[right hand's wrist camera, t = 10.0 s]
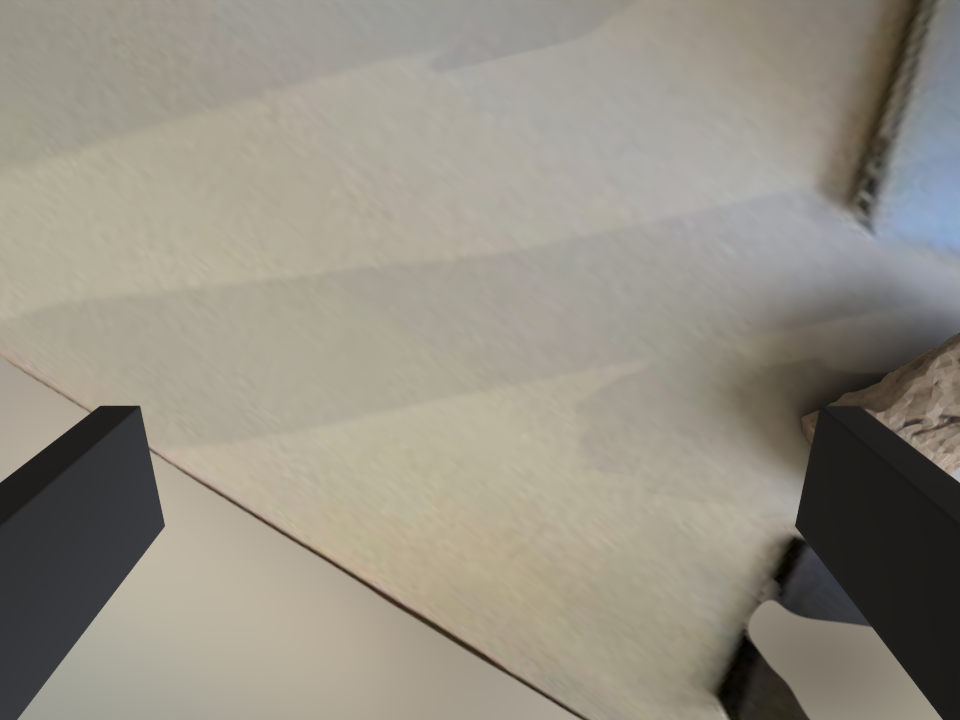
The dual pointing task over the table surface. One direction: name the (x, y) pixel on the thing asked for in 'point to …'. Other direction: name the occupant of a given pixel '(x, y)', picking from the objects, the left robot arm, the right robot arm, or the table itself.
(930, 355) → the stone
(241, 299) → the table surface
